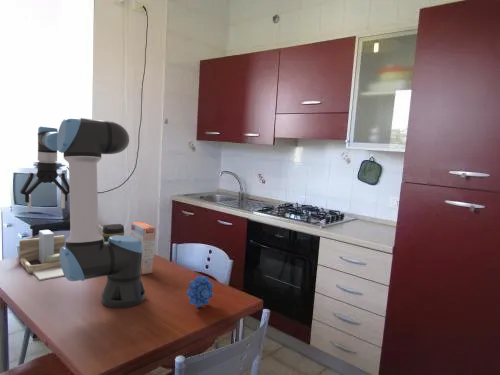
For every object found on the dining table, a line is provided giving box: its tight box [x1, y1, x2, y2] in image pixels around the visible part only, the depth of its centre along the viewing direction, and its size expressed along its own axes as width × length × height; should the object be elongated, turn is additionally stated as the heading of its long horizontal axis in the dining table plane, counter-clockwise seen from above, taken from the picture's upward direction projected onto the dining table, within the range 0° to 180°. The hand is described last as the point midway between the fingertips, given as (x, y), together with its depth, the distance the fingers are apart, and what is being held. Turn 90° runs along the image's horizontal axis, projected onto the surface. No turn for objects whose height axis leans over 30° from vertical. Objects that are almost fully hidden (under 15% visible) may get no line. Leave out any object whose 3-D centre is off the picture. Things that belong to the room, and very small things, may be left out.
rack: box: [18, 235, 66, 274], centre depth 160 cm, size 18×18×10 cm
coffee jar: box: [101, 223, 125, 242], centre depth 167 cm, size 10×8×19 cm
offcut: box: [46, 254, 60, 263], centre depth 157 cm, size 3×6×2 cm, turn 145°
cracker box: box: [130, 221, 157, 276], centre depth 162 cm, size 14×6×21 cm, turn 39°
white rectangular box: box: [38, 229, 55, 264], centre depth 162 cm, size 8×4×14 cm, turn 44°
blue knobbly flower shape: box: [186, 275, 214, 308], centre depth 128 cm, size 12×7×12 cm, turn 134°
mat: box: [32, 267, 65, 281], centre depth 149 cm, size 10×12×1 cm
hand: (46, 208), depth 160 cm, fingers open, 13 cm apart
